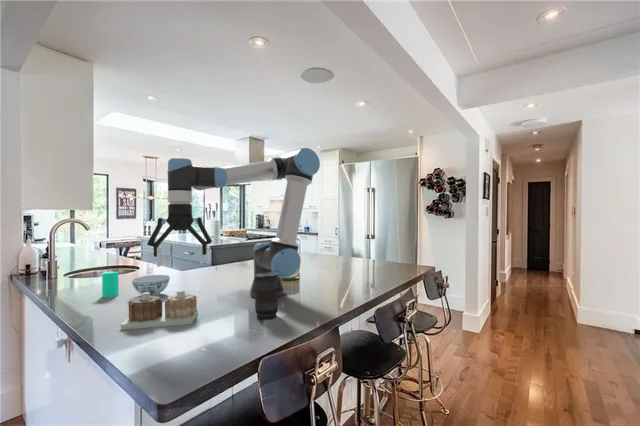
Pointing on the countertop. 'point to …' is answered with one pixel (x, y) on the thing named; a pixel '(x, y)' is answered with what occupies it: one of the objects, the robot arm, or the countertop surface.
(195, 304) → the maple gear
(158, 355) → the countertop surface
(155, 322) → the gear board
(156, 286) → the chinaware
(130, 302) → the walnut gear
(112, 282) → the candle
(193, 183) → the robot arm
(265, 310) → the camera lens
